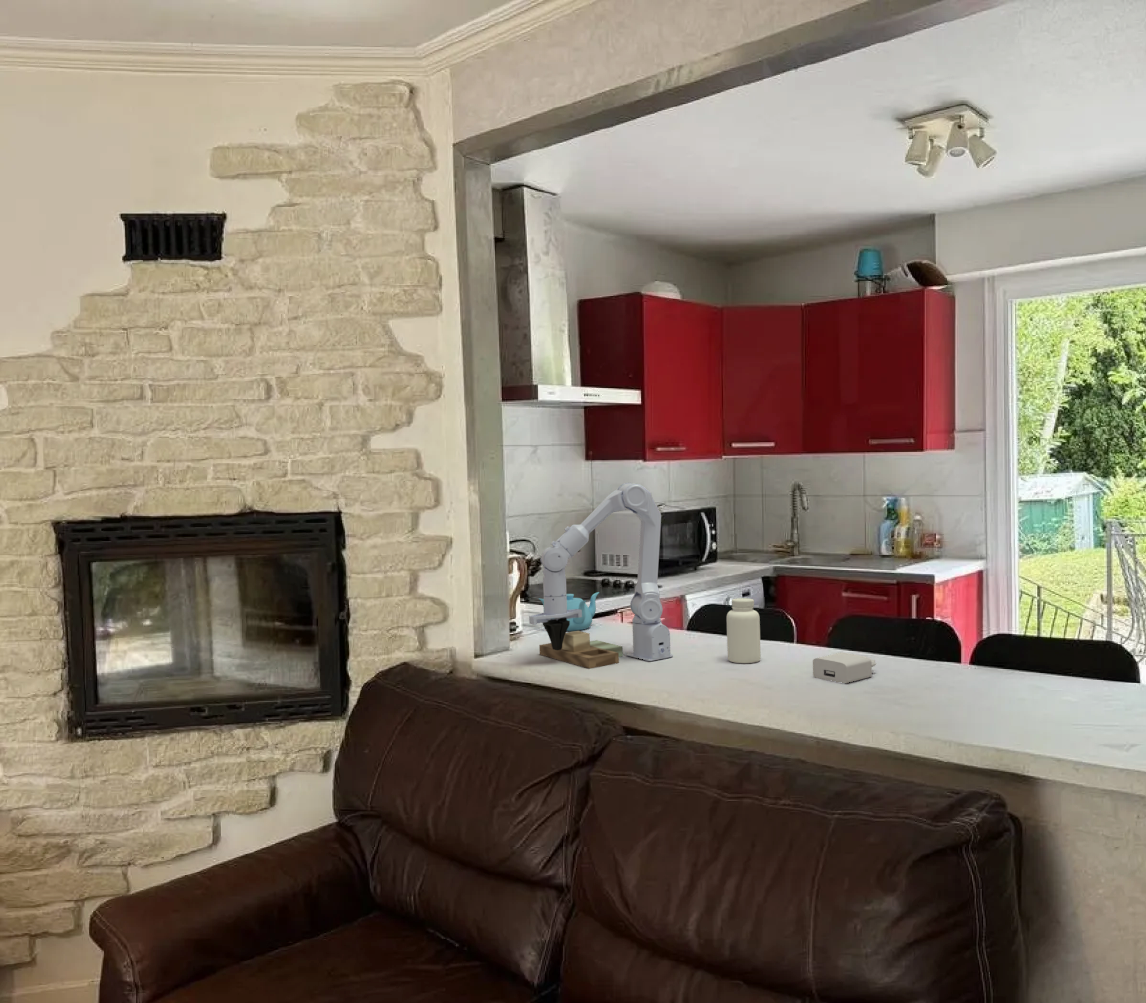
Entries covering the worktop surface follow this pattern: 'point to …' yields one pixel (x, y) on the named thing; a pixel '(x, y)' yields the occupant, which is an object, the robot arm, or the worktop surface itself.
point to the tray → (586, 654)
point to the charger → (843, 667)
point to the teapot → (586, 612)
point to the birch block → (576, 641)
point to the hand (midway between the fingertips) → (557, 649)
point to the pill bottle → (743, 632)
